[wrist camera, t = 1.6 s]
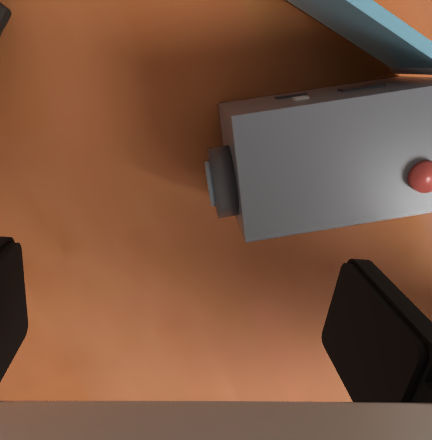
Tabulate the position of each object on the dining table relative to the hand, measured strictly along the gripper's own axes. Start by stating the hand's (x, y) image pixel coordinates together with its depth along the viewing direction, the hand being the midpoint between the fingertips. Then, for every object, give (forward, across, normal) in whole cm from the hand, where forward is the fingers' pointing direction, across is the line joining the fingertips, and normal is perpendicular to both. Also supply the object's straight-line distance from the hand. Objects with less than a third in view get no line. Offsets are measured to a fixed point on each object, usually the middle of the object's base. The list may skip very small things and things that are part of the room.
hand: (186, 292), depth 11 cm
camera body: (+23, -12, -1) cm, 26 cm away
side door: (+23, -12, -11) cm, 28 cm away
